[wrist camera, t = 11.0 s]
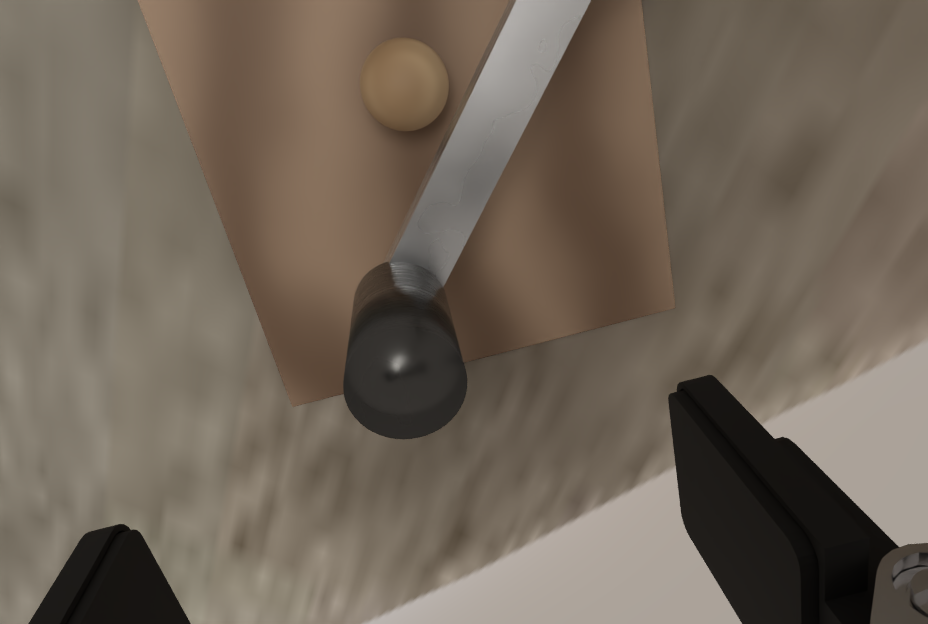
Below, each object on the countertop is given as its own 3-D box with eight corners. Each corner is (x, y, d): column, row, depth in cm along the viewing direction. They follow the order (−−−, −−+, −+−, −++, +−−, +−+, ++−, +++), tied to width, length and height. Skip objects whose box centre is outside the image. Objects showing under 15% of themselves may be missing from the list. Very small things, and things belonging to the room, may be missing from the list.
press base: (603, -203, 24) (663, -275, 19) (662, 296, 31) (716, 343, 26) (118, -86, 23) (43, -127, 18) (296, 391, 31) (279, 456, 26)
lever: (588, -264, 18) (706, -451, 12) (712, -174, 19) (885, -296, 13) (325, 306, 23) (301, 406, 17) (434, 352, 25) (453, 462, 18)
